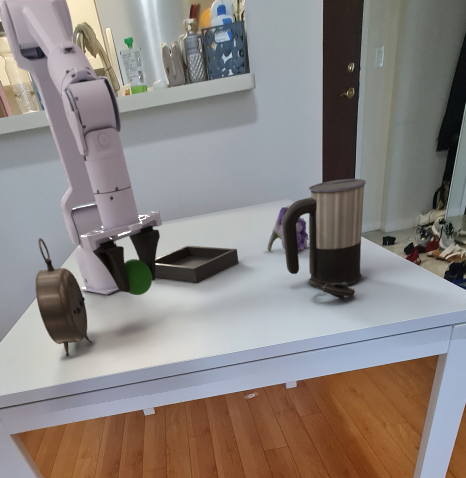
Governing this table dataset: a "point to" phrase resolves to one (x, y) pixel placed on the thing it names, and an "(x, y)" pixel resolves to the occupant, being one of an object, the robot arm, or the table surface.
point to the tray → (194, 263)
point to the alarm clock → (61, 304)
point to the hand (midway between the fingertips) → (137, 285)
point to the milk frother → (329, 235)
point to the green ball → (138, 276)
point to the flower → (278, 231)
